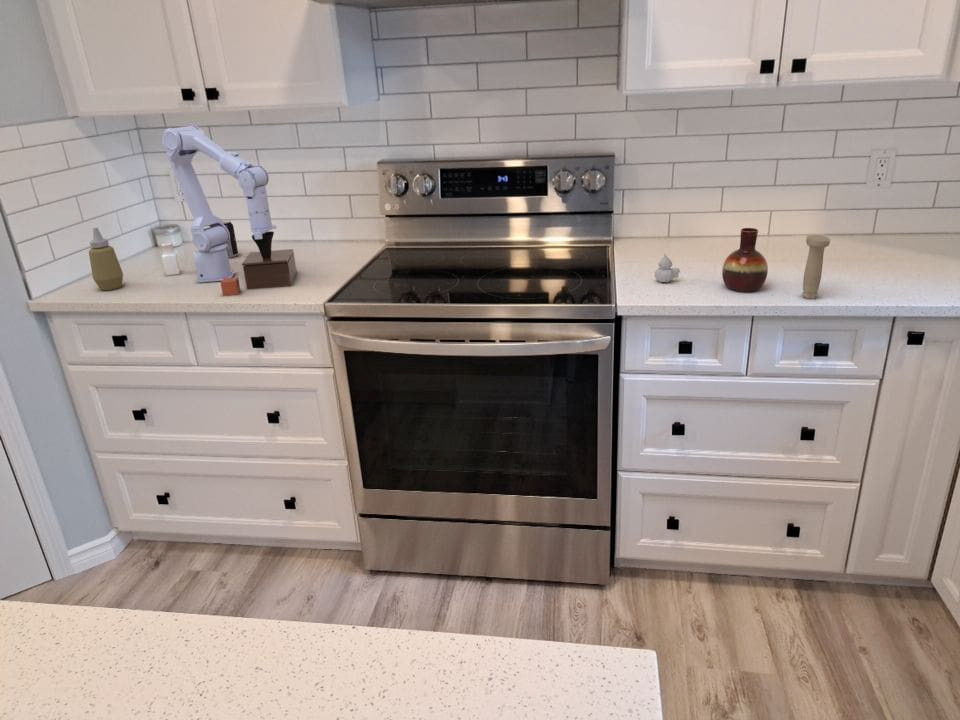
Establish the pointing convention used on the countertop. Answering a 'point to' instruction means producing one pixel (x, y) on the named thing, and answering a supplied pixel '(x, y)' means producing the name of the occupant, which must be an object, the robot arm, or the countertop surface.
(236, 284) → the block
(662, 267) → the grey rounded figurine
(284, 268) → the chest
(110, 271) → the squeeze bottle
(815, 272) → the handle
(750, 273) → the vase
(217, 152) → the robot arm
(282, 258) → the chest lid
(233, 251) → the black upright box
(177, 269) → the pepper shaker
